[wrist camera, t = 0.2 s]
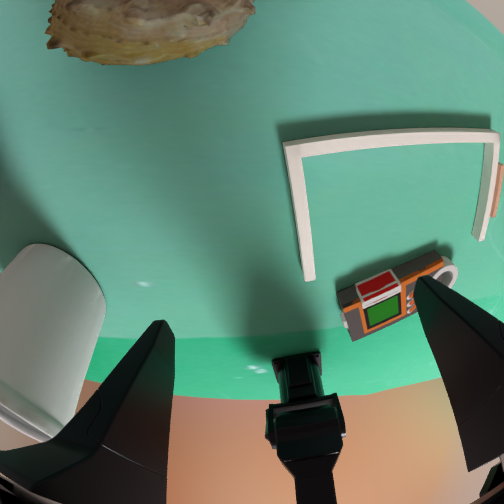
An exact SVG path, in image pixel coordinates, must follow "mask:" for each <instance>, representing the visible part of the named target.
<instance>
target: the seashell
mask: <svg viewBox="0 0 504 504" xmlns="http://www.w3.org/2000/svg"><path fill="white" fill-rule="evenodd" d="M253 2H254V0H55V3H54V4H52V7H53V8H52V9H51V10H50V11H49V12H50V13H52V16H51V17H50V18H49V19H48V22H49V23H50V24H51V25H50V26H49V27H48V28H47V29H46V32H45V34H49V35H51V36H52V37H51V39H50V40H49V41H48V42H47V43H46V44H47V49H56V48H61V47H62V48H63V49H64V51H65V52H67V55H68V56H69V57H70V56H71V57H78V58H80V59H81V60H83V61H86V62H88V61H93V62H97V63H100V64H102V65H147V64H154V63H159V62H165V61H168V60H172V59H177V58H181V57H187V58H193V57H195V56H197V55H199V54H200V53H201V52H202V51H204V50H207V49H209V48H211V47H213V46H217V45H228V43H229V40H230V38H231V37H232V36H233V35H234V34H235V33H236V32H238V31H239V30H240V29H241V28H243V26H244V25H245V23H246V22H247V18H248V17H249V16H250V15H252V14H255V7H254V6H253V5H252V3H253Z"/></svg>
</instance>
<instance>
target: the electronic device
mask: <svg viewBox="0 0 504 504" xmlns="http://www.w3.org/2000/svg"><path fill="white" fill-rule="evenodd" d="M423 275H429V276H431V277H433V278H434V279H436V280H438V281H439V282H441V283H443V284H444V285H446V286H448V287H449V288H451V287H452V286H453V285H454V283H455V281H456V279H457V276H458V269H457V267H456V266H455V265H454V264H453V263H452V262H451V261H450V260H449V258H447V257H446V256H440V255H439V254H438V253H437V252H436V251H435V250H434V251H431V252H429V253H427V254H425V255H423V256H420V257H418V258H416V259H414V260H411V261H409V262H407V263H404V264H402V265H400V266H397V267H395V268H393V269H391V268H390V269H388V270H386V271H383V272H381V273H379V274H376V275H374V276H371V277H369V278H367V279H364V280H362V281H359V282H357V283H355V285H354V286H352V287H349V288H347V289H344V290H342V291H340V292H337V293H336V294H337V297H338V300H339V303H340V307H341V310H342V312H341V314H340V316H341V319H342V322H343V325H344V327H345V328H347V329H348V332H349V334H350V337H351V339H352V342H353V341H356V340H358V339H361V338H363V337H365V336H367V335H370V334H372V333H374V332H377V331H379V330H381V329H383V328H385V327H387V326H390V325H392V324H394V323H396V322H398V321H400V320H402V319H404V318H406V317H408V316H410V315H412V314H414V313H416V312H418V311H417V308H416V305H415V302H414V299H413V292H414V288H415V284H416V280H417V278H418V277H419V276H423Z"/></svg>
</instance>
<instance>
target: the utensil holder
mask: <svg viewBox="0 0 504 504" xmlns="http://www.w3.org/2000/svg"><path fill="white" fill-rule="evenodd" d="M105 314H106V303H105V298H104V295H103V293H102V291H101V289H100V287H99V285H98V283H97V282H96V280H95V279H94V278H93V276H92V275H91V274H90V273H89V272H88V270H87V269H86V268H85V267H84V266H83V265H82V264H80V263H79V262H78V261H77V260H76V259H75V258H73V257H72V256H70V255H69V254H67V253H65V252H64V251H62V250H60V249H58V248H56V247H53V246H50V245H47V244H31V245H28V246H26V247H25V248H23V249H22V250H21V251H20V252H19V253H18V255H17V256H16V257H15V258H14V259H13V260H12V261H11V262H10V263H9V264H8V266H7V267H6V268H5V269H4V270H3V271H2V273H1V274H0V419H1V420H2V421H4V422H5V423H7V424H8V425H10V426H12V427H13V428H15V429H17V430H18V431H20V432H22V433H24V434H25V435H28V436H29V437H31V438H34V439H35V440H37V441H39V442H46V441H48V440H50V439H52V438H53V437H54V436H56V435H57V434H58V433H59V432H60V431H61V430H62V429H63V427H64V426H65V425H66V424H67V423H68V422H69V421H70V420H71V419H72V418H73V417H74V413H75V410H76V406H77V402H78V399H79V395H80V392H81V388H82V385H83V382H84V379H85V376H86V372H87V369H88V366H89V363H90V360H91V357H92V354H93V351H94V348H95V345H96V342H97V339H98V336H99V333H100V330H101V327H102V324H103V321H104V318H105Z"/></svg>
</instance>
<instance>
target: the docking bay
mask: <svg viewBox="0 0 504 504" xmlns="http://www.w3.org/2000/svg"><path fill="white" fill-rule="evenodd" d="M466 142H482V143H484V158H483V169H482V178H481V186H480V193H479V199H478V205H477V211H476V216H475V221H474V226H473V230H472V235H473V236H474V237H475V238H476V239H477V240H478V241H482V240H484V238H485V234H486V230H487V226H488V221H489V217H490V216H491V217H492V218H493V217H496V213H497V208H498V203H499V197H500V192H501V186H502V179H503V171H504V165H503V164H501V163H499V162H498V159H499V147H500V133H498V132H496V131H494V130H491V129H479V128H405V129H387V130H373V131H362V132H352V133H343V134H334V135H326V136H319V137H312V138H305V139H298V140H292V141H286V142H282V143H283V149H284V154H285V160H286V166H287V171H288V177H289V183H290V189H291V196H292V202H293V208H294V215H295V222H296V229H297V236H298V243H299V250H300V258H301V265H302V272H303V276H304V280H305V282H307V281H312V280H316V278H315V267H314V256H313V246H312V236H311V227H310V219H309V210H308V202H307V195H306V187H305V180H304V173H303V166H302V159H301V158H302V157H308V156H314V155H321V154H328V153H335V152H343V151H350V150H359V149H368V148H377V147H388V146H400V145H414V144H431V143H466Z"/></svg>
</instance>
